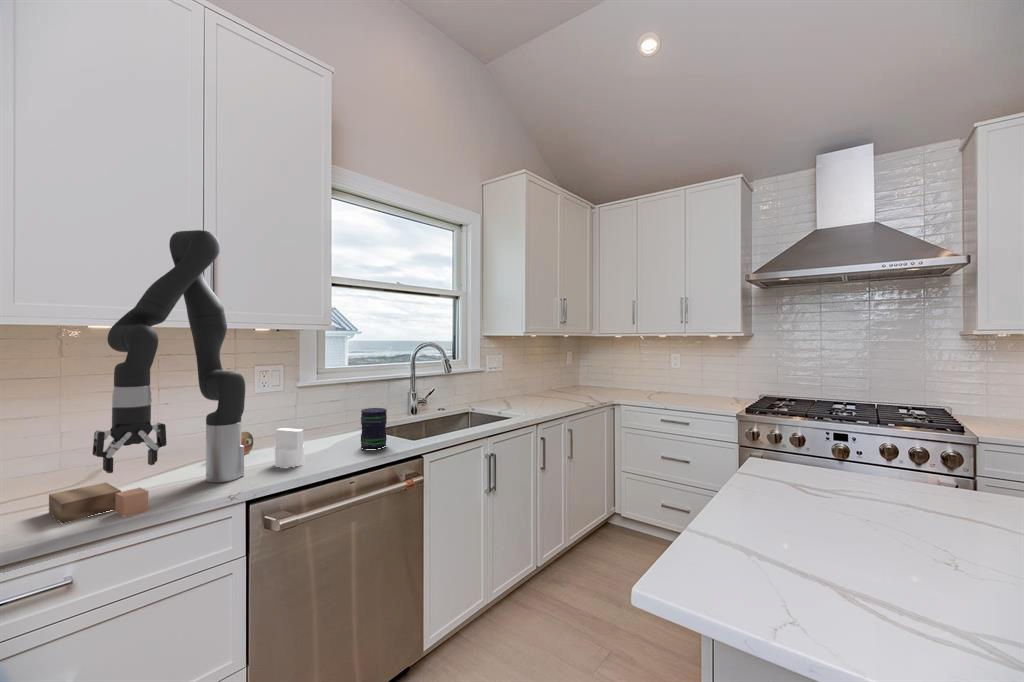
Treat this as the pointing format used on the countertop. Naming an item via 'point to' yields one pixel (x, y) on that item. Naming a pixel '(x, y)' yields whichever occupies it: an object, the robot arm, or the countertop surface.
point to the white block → (289, 447)
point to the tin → (246, 441)
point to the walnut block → (82, 502)
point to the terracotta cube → (131, 501)
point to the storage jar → (373, 428)
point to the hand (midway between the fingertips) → (130, 468)
